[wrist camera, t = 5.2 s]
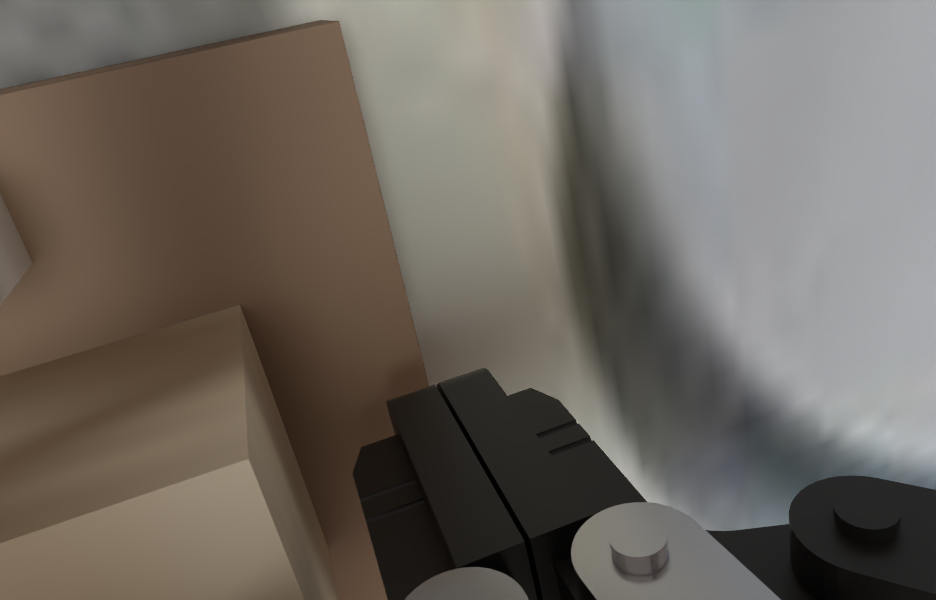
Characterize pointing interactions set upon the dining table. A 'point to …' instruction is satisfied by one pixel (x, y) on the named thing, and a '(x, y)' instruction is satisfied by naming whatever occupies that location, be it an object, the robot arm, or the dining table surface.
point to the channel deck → (219, 239)
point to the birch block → (155, 475)
